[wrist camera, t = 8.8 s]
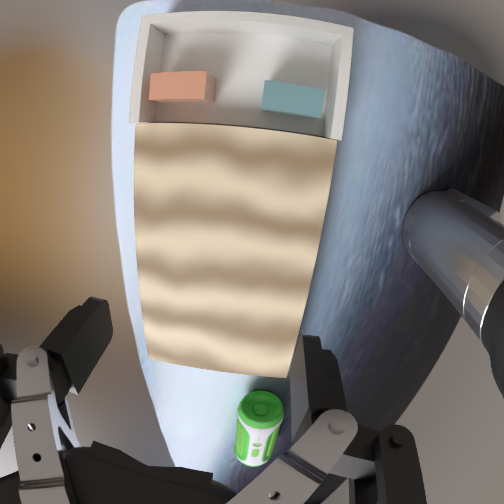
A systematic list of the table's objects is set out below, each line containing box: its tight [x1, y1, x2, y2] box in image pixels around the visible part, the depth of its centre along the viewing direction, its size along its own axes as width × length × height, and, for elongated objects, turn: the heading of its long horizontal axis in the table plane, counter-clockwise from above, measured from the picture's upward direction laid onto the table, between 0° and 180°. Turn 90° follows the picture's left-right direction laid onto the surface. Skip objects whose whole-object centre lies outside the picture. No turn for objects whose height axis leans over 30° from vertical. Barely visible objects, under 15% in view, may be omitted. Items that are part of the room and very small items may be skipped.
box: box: [129, 11, 354, 140], centre depth 24 cm, size 11×19×5 cm, turn 84°
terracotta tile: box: [149, 71, 217, 103], centre depth 24 cm, size 5×5×2 cm
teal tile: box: [261, 80, 325, 119], centre depth 24 cm, size 5×5×2 cm
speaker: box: [234, 391, 284, 467], centre depth 44 cm, size 18×7×8 cm, turn 176°
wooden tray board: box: [134, 122, 337, 378], centre depth 33 cm, size 30×19×4 cm, turn 174°
